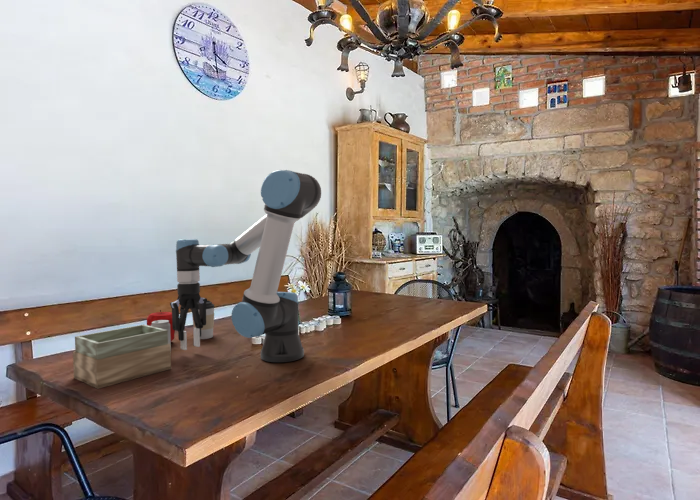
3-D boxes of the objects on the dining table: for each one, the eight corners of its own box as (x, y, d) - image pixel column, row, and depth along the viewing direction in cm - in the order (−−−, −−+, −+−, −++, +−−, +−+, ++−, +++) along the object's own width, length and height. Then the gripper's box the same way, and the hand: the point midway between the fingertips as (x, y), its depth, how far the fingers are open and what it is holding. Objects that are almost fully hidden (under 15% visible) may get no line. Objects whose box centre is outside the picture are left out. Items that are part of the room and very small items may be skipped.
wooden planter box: (171, 369, 142) (169, 329, 141) (97, 388, 125) (95, 344, 124) (145, 360, 152) (144, 324, 151) (73, 377, 134) (72, 336, 134)
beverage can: (155, 352, 162) (154, 319, 161) (173, 352, 162) (172, 319, 162) (148, 357, 155) (147, 323, 155) (167, 356, 156) (166, 322, 156)
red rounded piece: (158, 349, 166) (157, 313, 166) (141, 346, 172) (140, 310, 171) (182, 343, 175) (181, 308, 175) (165, 340, 181) (164, 306, 180)
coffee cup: (208, 341, 178) (207, 303, 178) (187, 340, 180) (186, 303, 179) (219, 335, 187) (218, 300, 186) (199, 335, 189) (198, 299, 188)
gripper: (203, 279, 168) (205, 341, 169) (159, 284, 154) (161, 351, 155) (216, 280, 163) (217, 344, 164) (171, 285, 149) (173, 354, 150)
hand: (190, 347), depth 160 cm, fingers open, 4 cm apart
